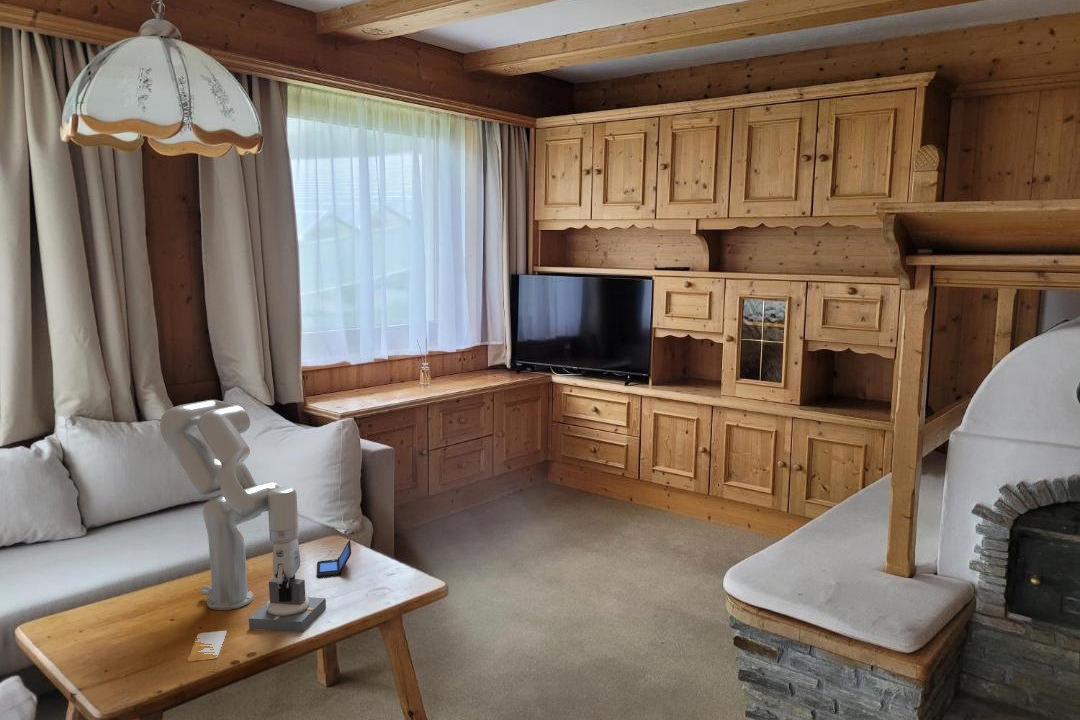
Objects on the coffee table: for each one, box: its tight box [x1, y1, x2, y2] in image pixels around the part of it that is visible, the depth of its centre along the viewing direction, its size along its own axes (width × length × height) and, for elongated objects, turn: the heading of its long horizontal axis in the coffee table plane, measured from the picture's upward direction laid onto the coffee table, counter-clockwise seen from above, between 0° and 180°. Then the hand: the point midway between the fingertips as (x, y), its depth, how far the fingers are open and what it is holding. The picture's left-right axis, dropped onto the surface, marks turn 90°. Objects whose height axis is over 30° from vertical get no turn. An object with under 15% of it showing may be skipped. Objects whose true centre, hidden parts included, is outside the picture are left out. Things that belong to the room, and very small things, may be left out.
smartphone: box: [194, 630, 228, 658], centre depth 206 cm, size 7×1×15 cm
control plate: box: [248, 596, 327, 633], centre depth 221 cm, size 15×15×3 cm
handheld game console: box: [316, 540, 352, 579], centre depth 256 cm, size 12×11×7 cm
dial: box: [266, 577, 309, 616], centre depth 220 cm, size 11×11×8 cm
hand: (287, 597), depth 221 cm, fingers closed on dial, 3 cm apart
